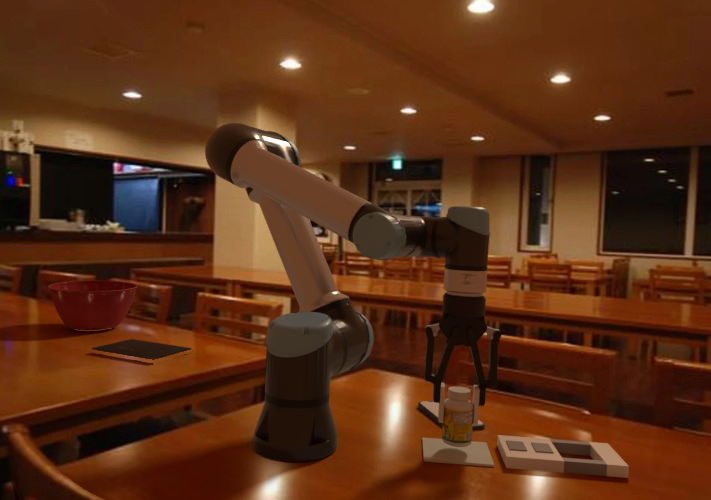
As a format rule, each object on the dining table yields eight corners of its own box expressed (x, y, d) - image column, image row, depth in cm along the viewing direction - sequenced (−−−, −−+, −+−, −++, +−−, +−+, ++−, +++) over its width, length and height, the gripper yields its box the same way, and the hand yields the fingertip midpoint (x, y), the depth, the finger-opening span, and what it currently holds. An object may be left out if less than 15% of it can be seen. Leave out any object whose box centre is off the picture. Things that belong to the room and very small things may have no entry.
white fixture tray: (506, 468, 96) (506, 455, 96) (497, 445, 106) (497, 433, 106) (628, 477, 94) (629, 465, 94) (607, 453, 104) (607, 442, 104)
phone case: (487, 432, 114) (450, 405, 130) (487, 424, 114) (451, 399, 130) (448, 435, 112) (415, 408, 127) (448, 427, 112) (415, 401, 127)
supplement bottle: (474, 448, 99) (477, 394, 98) (443, 447, 99) (446, 393, 98) (468, 437, 104) (471, 385, 104) (439, 435, 104) (442, 384, 104)
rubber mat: (423, 461, 97) (423, 459, 97) (422, 439, 107) (422, 437, 107) (494, 467, 96) (494, 464, 96) (486, 444, 106) (486, 442, 106)
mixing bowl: (143, 333, 193) (144, 288, 192) (48, 339, 178) (49, 290, 178) (130, 319, 217) (131, 280, 216) (46, 323, 203) (46, 280, 202)
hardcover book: (153, 366, 153) (153, 358, 153) (91, 355, 162) (91, 347, 162) (192, 355, 167) (192, 347, 167) (133, 345, 176) (133, 338, 176)
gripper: (413, 292, 97) (406, 424, 98) (521, 298, 96) (513, 433, 97) (412, 288, 105) (406, 410, 106) (513, 293, 103) (505, 418, 104)
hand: (457, 421), depth 101 cm, fingers closed on supplement bottle, 5 cm apart
